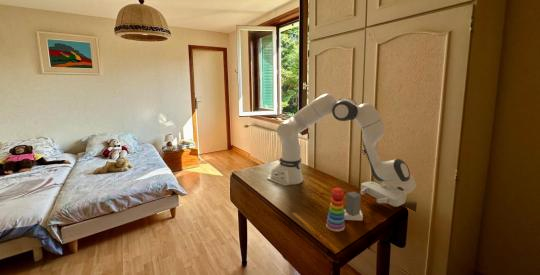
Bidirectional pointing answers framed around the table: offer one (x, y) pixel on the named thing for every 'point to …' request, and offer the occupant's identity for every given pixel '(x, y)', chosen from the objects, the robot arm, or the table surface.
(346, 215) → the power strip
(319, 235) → the table surface
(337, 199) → the stacking toy
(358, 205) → the gray rectangular block
